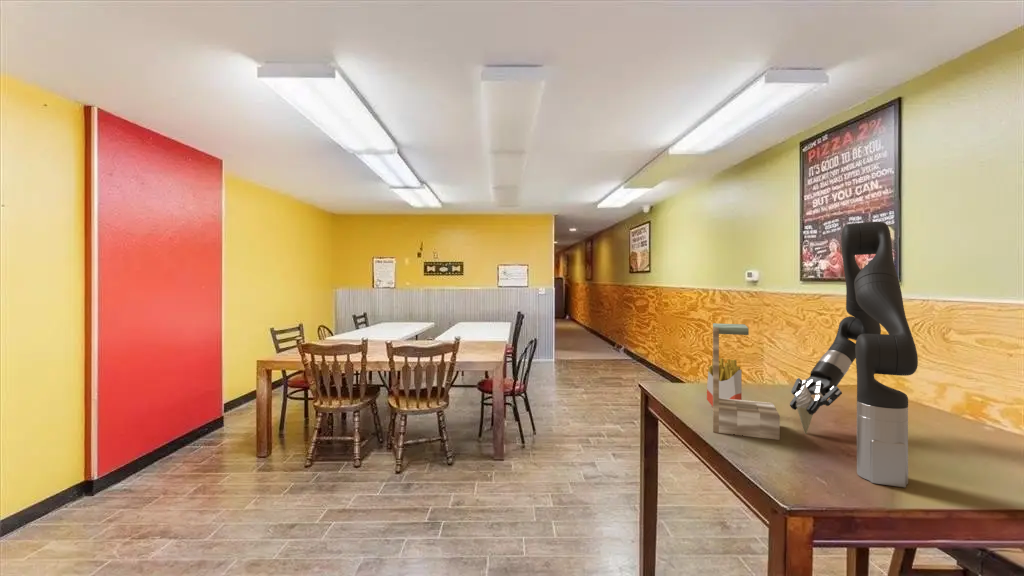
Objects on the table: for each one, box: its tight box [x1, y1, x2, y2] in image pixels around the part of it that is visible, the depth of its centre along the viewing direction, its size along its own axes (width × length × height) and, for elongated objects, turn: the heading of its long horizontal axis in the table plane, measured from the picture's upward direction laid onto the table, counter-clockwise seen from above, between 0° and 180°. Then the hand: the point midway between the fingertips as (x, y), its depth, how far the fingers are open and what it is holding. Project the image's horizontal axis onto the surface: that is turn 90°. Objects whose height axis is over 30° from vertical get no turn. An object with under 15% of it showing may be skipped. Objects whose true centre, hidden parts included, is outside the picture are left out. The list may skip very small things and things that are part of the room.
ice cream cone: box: [796, 384, 815, 434], centre depth 138 cm, size 5×5×15 cm
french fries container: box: [706, 357, 743, 407], centre depth 166 cm, size 5×11×18 cm, turn 34°
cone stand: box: [712, 323, 781, 441], centre depth 143 cm, size 16×18×32 cm
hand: (800, 410), depth 137 cm, fingers closed on ice cream cone, 5 cm apart
